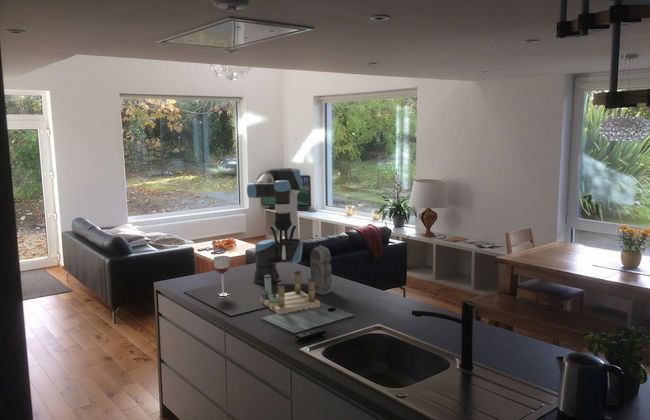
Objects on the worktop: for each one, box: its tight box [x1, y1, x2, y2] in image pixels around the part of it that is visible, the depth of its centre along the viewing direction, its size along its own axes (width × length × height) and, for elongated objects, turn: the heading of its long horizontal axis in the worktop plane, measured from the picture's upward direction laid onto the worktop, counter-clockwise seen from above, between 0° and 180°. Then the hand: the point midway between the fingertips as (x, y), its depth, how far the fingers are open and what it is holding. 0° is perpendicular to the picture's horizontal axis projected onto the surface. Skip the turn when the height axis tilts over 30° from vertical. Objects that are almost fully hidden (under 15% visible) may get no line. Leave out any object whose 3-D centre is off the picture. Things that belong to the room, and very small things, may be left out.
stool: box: [260, 270, 321, 315], centre depth 268 cm, size 22×22×14 cm
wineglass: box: [213, 255, 230, 297], centre depth 285 cm, size 8×9×20 cm
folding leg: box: [264, 275, 278, 303], centre depth 268 cm, size 12×4×11 cm, turn 29°
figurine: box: [309, 244, 333, 295], centre depth 289 cm, size 10×14×25 cm
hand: (283, 258), depth 272 cm, fingers closed
